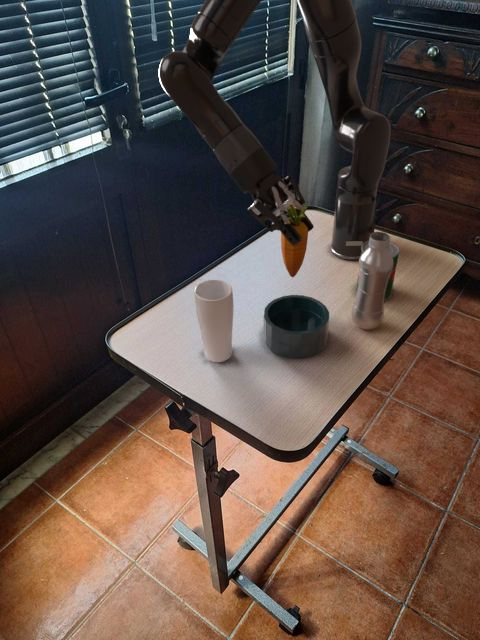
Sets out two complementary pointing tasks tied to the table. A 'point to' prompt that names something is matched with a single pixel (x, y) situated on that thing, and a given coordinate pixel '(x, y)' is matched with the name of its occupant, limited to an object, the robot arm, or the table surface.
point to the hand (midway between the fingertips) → (303, 236)
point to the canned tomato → (394, 253)
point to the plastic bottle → (372, 282)
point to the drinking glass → (215, 318)
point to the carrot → (296, 253)
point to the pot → (296, 326)
